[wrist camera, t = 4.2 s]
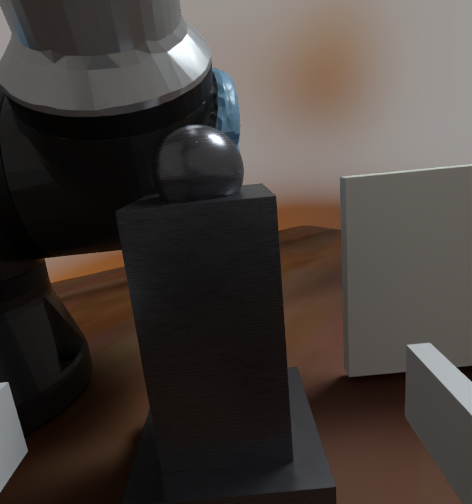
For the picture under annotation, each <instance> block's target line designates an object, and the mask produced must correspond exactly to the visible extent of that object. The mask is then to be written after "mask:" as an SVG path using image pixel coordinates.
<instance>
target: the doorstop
mask: <svg viewBox="0 0 472 504" xmlns="http://www.w3.org/2000/svg"><path fill="white" fill-rule="evenodd" d="M152 174H153V181H154V185H155V187H156V190H157V192H158V194H149V195H147V196H145V197H143V198H141V199H139V200H137V201H135V202H133V203H131V204H129V205H127V206H125V207H123V208H121V209H119V210H117V211H115V214H116V219H117V225H118V231H119V236H120V242H121V247H122V253H123V259H124V264H125V270H126V276H127V281H128V287H129V292H130V298H131V304H132V309H133V315H134V321H135V326H136V332H137V337H138V343H139V349H140V354H141V360H142V366H143V371H144V377H145V382H146V388H147V394H148V399H149V405H150V410H149V413H148V416H147V420H146V423H145V426H144V429H143V432H142V436H141V439H140V442H139V445H138V449H137V452H136V455H135V458H134V461H133V465H132V468H131V471H130V474H129V478H128V481H127V484H126V487H125V491H124V494H123V497H122V500H121V503H120V504H336V486H335V483H334V480H333V477H332V474H331V470H330V467H329V464H328V461H327V458H326V455H325V452H324V449H323V446H322V442H321V439H320V436H319V433H318V430H317V427H316V424H315V421H314V418H313V415H312V411H311V408H310V405H309V402H308V399H307V396H306V393H305V390H304V387H303V383H302V380H301V377H300V374H299V371H298V368H297V367H289V368H287V355H286V340H285V325H284V309H283V294H282V279H281V264H280V249H279V234H278V219H277V204H276V196H275V195H274V194H273V193H272V192H271V191H270V190H269V189H268V188H266V187H265V186H264V185H263V184H253V185H242V183H243V175H244V167H243V161H242V158H241V155H240V153H239V150H238V149H237V147H236V145H235V144H234V143H233V141H232V140H231V139H230V138H229V137H228V136H227V135H225V134H224V133H223V132H221V131H219V130H217V129H215V128H213V127H210V126H206V125H188V126H185V127H181V128H179V129H177V130H175V131H173V132H172V133H170V134H169V135H168V136H167V137H166V138H165V139H164V140H163V141H162V142H161V144H160V145H159V147H158V149H157V151H156V153H155V156H154V160H153V167H152Z"/></svg>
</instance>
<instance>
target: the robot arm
mask: <svg viewBox="0 0 472 504" xmlns="http://www.w3.org/2000/svg"><path fill="white" fill-rule="evenodd" d="M0 6H1V8H2V10H3V13H4V16H5V18H6V20H7V23H8V25H9V27H10V30H11V32H12V35H11V40H10V42H9V44H8V46H7V48H6V51H5V53H4V55H3V57H2V58H1V61H0V492H1V490H2V489H3V487H4V486H5V485H6V483H7V482H8V480H9V479H10V477H11V476H12V474H13V473H14V471H15V470H16V468H17V467H18V465H19V464H20V462H21V461H22V459H23V458H24V456H25V455H26V453H27V452H28V449H27V446H26V442H25V439H24V435H26V434H28V433H29V432H31V431H33V430H34V429H36V428H38V427H39V426H41V425H42V424H44V423H45V422H47V421H48V420H50V419H51V418H53V417H54V416H55V415H57V414H58V413H59V412H61V411H62V410H63V409H64V408H65V407H67V406H68V405H69V404H70V403H71V402H72V401H73V400H74V399H75V398H76V397H77V396H78V395H79V394H80V392H81V391H82V390H83V389H84V387H85V386H86V384H87V383H88V381H89V379H90V376H91V373H92V361H91V356H90V351H89V347H88V343H87V340H86V338H85V336H84V335H83V333H82V332H81V330H80V329H79V327H78V325H77V324H76V322H75V321H74V319H73V318H72V316H71V315H70V313H69V312H68V310H67V309H66V307H65V306H64V304H63V303H62V301H61V300H60V298H59V297H58V295H57V294H56V292H55V291H54V289H53V287H52V285H51V283H50V280H49V276H48V272H47V268H46V263H45V259H44V258H49V257H58V256H68V255H77V254H86V253H96V252H106V251H114V250H122V247H121V242H120V236H119V231H118V225H117V219H116V214H115V211H117V210H119V209H121V208H123V207H125V206H127V205H129V204H131V203H133V202H135V201H137V200H139V199H141V198H143V197H145V196H147V195H149V194H158V192H157V190H156V187H155V185H154V181H153V174H152V167H153V160H154V156H155V153H156V151H157V149H158V147H159V145H160V144H161V142H162V141H163V140H164V139H165V138H166V137H167V136H168V135H169V134H170V133H172V132H173V131H175V130H177V129H179V128H181V127H185V126H188V125H206V126H210V127H213V128H215V129H217V130H219V131H221V132H223V133H224V134H225V135H227V136H228V137H229V138H230V139H231V140H232V141H233V143H234V144H235V145H236V147H237V149H238V150H239V147H238V142H239V135H240V115H239V106H238V99H237V94H236V90H235V86H234V83H233V81H232V79H231V77H230V76H229V74H227V73H226V72H224V71H220V70H218V69H217V68H212V62H211V49H210V47H209V44H208V43H207V42H206V40H205V39H204V38H203V37H202V36H201V35H200V34H199V33H198V32H197V31H196V30H195V29H194V28H193V27H192V26H191V25H190V24H189V23H188V22H187V21H186V20H185V19H184V18H183V17H182V15H181V9H180V0H0ZM239 153H240V150H239ZM405 418H406V419H407V421H408V422H409V424H410V425H411V427H412V428H413V430H414V431H415V433H416V434H417V436H418V437H419V439H420V440H421V442H422V443H423V445H424V446H425V448H426V449H427V451H428V452H429V454H430V455H431V457H432V458H433V460H434V461H435V463H436V464H437V466H438V467H439V469H440V470H441V472H442V473H443V475H444V476H445V478H446V479H447V481H448V482H449V484H450V485H451V487H452V488H453V490H454V491H455V493H456V494H457V496H458V497H459V499H460V500H461V502H462V503H463V504H472V382H471V381H470V380H469V379H468V378H467V377H466V376H465V375H464V374H463V373H462V372H461V371H460V370H459V369H457V368H456V367H455V366H454V365H453V364H452V363H451V362H450V361H449V360H448V359H447V358H446V357H445V356H444V355H443V354H441V353H440V352H439V351H438V350H437V349H436V348H435V347H434V346H433V345H432V344H431V343H421V344H410V345H407V347H406V385H405Z"/></svg>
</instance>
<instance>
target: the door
mask: <svg viewBox="0 0 472 504" xmlns="http://www.w3.org/2000/svg"><path fill="white" fill-rule="evenodd" d="M340 201H341V246H342V290H343V335H344V368H345V370H346V372H347V374H348V376H349V377H356V376H367V375H377V374H388V373H399V372H406V347H407V345H410V344H421V343H431V344H432V345H433V346H434V347H435V348H436V349H437V350H438V351H439V352H440V353H441V354H443V355H444V356H445V357H446V358H447V359H448V360H449V361H450V362H451V363H452V364H453V365H454V366H455V367H463V366H472V164H469V165H459V166H448V167H437V168H427V169H417V170H407V171H396V172H386V173H375V174H365V175H355V176H344V177H340Z"/></svg>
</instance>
